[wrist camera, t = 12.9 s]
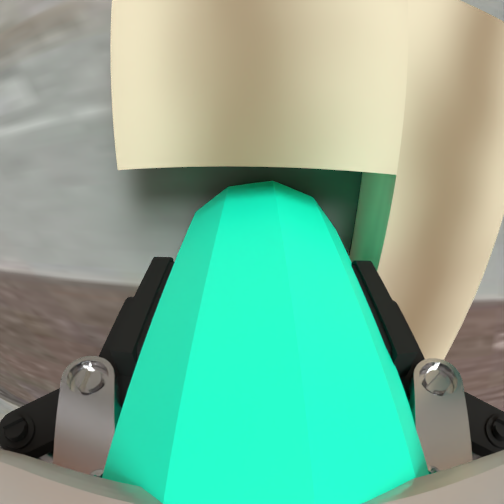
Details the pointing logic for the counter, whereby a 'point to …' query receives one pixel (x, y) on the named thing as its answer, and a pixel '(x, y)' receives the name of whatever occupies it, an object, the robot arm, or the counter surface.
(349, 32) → the notched board
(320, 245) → the candle
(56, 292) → the counter surface
